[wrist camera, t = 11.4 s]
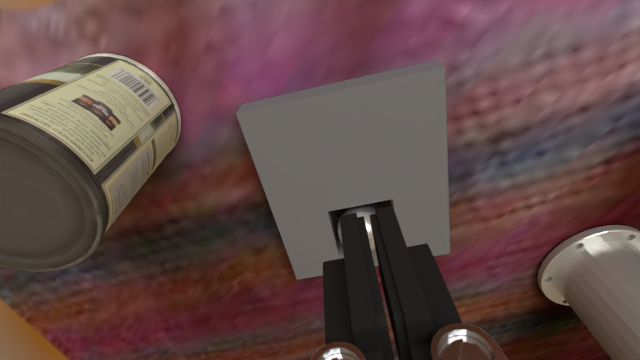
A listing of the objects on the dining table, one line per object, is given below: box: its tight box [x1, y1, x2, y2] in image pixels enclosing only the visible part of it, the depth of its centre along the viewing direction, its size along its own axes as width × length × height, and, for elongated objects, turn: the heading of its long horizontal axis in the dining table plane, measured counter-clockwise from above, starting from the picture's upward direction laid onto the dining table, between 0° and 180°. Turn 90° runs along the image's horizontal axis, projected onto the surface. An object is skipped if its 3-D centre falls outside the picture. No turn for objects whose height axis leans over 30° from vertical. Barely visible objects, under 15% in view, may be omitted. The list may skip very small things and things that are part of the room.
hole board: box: [236, 60, 450, 280], centre depth 33 cm, size 17×20×2 cm
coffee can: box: [0, 54, 181, 272], centre depth 24 cm, size 10×10×14 cm
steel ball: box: [337, 205, 376, 252], centre depth 34 cm, size 5×5×5 cm
